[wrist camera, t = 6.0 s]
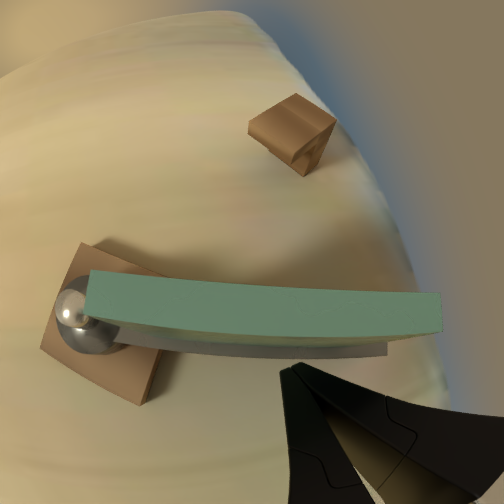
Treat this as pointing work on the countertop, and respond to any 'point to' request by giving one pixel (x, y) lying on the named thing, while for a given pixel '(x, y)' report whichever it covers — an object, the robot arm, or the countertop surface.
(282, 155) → the block
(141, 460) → the countertop surface
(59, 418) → the countertop surface
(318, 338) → the link
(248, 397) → the countertop surface
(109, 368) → the pintle block
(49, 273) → the countertop surface
